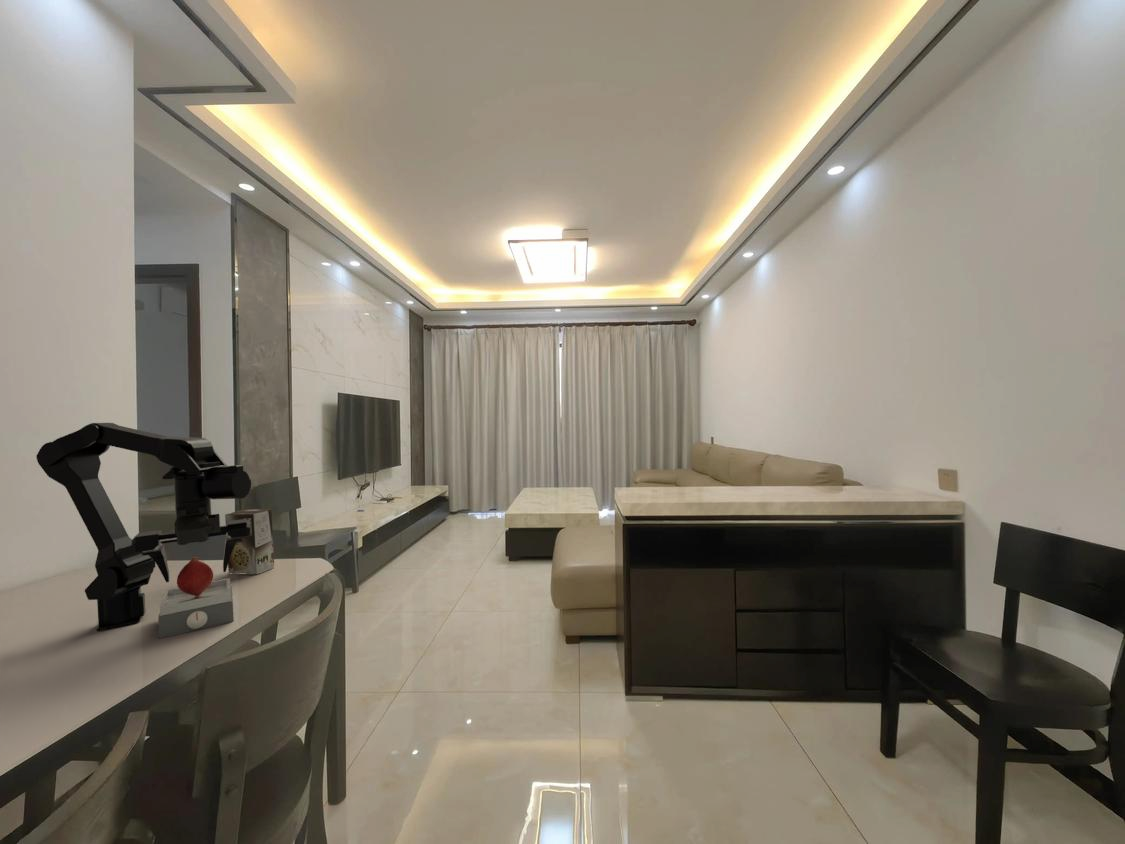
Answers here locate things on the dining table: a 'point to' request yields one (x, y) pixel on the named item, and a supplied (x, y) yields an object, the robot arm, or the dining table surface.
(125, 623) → the robot arm
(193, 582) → the onion
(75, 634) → the dining table surface
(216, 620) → the scale base
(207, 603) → the scale pan
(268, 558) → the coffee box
